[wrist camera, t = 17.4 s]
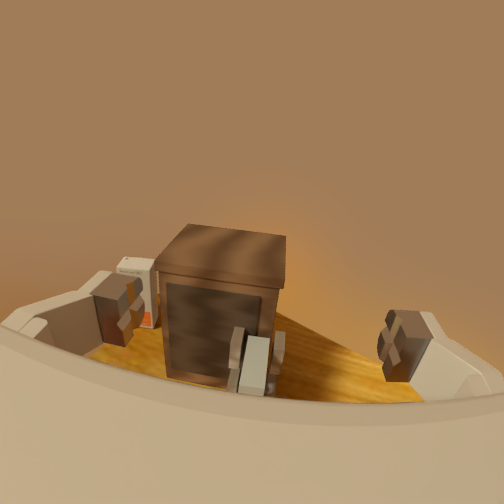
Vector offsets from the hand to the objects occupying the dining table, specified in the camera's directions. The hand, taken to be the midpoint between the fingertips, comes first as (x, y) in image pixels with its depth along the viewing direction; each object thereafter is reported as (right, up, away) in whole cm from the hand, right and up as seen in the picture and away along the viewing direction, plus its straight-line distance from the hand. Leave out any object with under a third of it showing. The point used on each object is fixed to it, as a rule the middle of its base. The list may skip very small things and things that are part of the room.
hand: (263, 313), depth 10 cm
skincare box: (-21, -11, +44) cm, 50 cm away
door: (-1, -20, +27) cm, 34 cm away
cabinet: (-5, -16, +37) cm, 40 cm away
